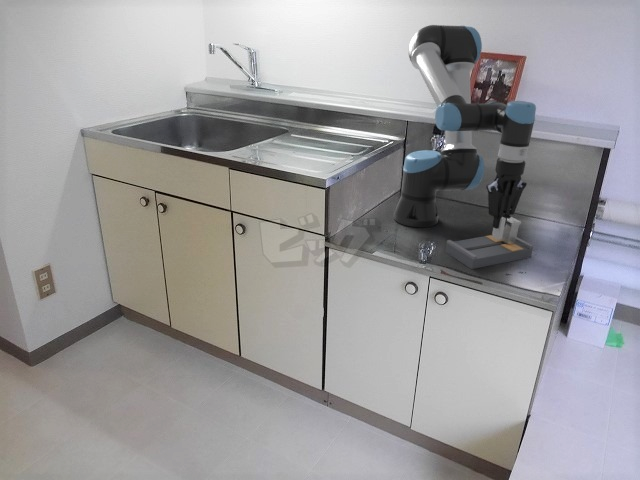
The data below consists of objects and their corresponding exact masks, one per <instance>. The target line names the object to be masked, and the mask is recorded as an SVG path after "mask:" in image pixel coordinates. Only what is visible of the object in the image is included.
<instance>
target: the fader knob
mask: <svg viewBox="0 0 640 480" xmlns="http://www.w3.org/2000/svg"><path fill="white" fill-rule="evenodd" d="M520 225H522V220H519V219H517V218H514V217H513V216H511V217H510V218H509V219H508V218H507V222H506V226H505V227H504V231H503V236H502V239H499V240H501V241H503V242H505V243H507V244H511V243H516V238H517V237H518V233H519V228H520Z"/></svg>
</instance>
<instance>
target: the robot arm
mask: <svg viewBox="0 0 640 480" xmlns="http://www.w3.org/2000/svg"><path fill="white" fill-rule="evenodd" d="M482 44H483V43H482V38H481V34H480V33H479V31H478V29H476V28H475V27H473V26H465V25H439V24H431V25H430V24H429V25H426V26H424V27H422V28H420V29H419V30H418V31H417V32H416V33H415V34H414V35H413V37H412V38H411V40H410V42H409V45H408V46H409V47H408V57H409V58H408V59H409V61H410V63H411V65H412V67H414V68H415V69H417V70H418V71H419V73H420V75H421V77H422V80H423V81H424V83H425V85H426V87H427V89H428V91H429V93H430V96H431V97H432V99H433V101H434V102H435V105H436V107H437V108H436V111H435V114H434V115H435V116H434V120H435V125H436V127H437V129H439V130H440V131H443V132H444V137H445V143H444V144H445V145H444V147H443V148H442V149H441V150H440V152H439V151H436V150H432V149H431V150H427V149H425V150H424V149H423V150H416V151H413V152H410V153H408V154H407V155H406V157H405V158H404V164H403V167H402V170H403V172H402V182H401V191H400V197H399V200H398V202H397V204H396V208H395V209H394V211H393V219H394V221H396V222H397V223H399V224H401V225H403V226H408V227H412V228H429V227H434V226H436V225H437V224H438V222H439V211H438V207H437V201H436V198H437V192H438V191H440V192H441V191H465V190H473V189H475V188H477V187H478V186H479V185H480V183H481V182H482V180H483V176H484V173H485V161H484V158H483V157H482V156H481V155H480V154H478V153H477V150H478V149H477V147H476V146H474V145H473V144H472V143H473V139H472V138H473V137H472V135H473V134H472V133H473V132H474V131H475V132H483V131H484V132H489V131H490V132H491V131H494V132H498V133H500V134H501V135H500V143H499V147H498V153H497V160H496V164H495V170H494V171H495V173H496V175H495V177H494V179H493V182H492V183H491V184H489V183H487V184H486V190H487V197H488V198H487V200H488V201H487V202H488V203H487V204H488V215H490V216H492V217H493V221H492V233H491V235H492V237H494V238H496V239H498V240H499V239H502V236H503V231H504V227H505V226H506V222H507V218H508V219H509V218H510V217H512V216H513V215H514V214H515V211H516V209H517V207H518V205H519V202H520V199H521V196H522V193H523V191H524V189H525V188H527V182H524V181H523V180H522V176H523V175H524V172H525V168H526V160H527V157H528V153H529V147H530V143H531V139H532V133H533V128H534V124H535V121H536V112H537V111H536V110H537V107H536V104H535V103H533V102H530V101H524V100H511V101H509V102H507V104H505V103H503V102H500V101H489V102H487V103H472V99H471V97H472V96H471V95H472V94H471V72H472V70H473V69H474V68H475V65H476V63H477V62H478V61H479V59H480V58H481V55H482V54H481V52H482V50H483V48H482V47H483V45H482ZM472 131H473V132H472ZM511 215H512V216H511Z"/></svg>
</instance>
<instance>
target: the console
mask: <svg viewBox="0 0 640 480" xmlns="http://www.w3.org/2000/svg"><path fill="white" fill-rule="evenodd" d="M533 248H534V245H533V244H531V243H529V242H528V241H525V240H524V239H521V238H519V237H518V236H517V238H516V243H511V244H507V243H505V242H503V241H501V240H498V239H496V238H494V237H492V234H489V235H484V236H479V237H474V238H472V237H471V238H467V239H462V240H455V241H453V240H451V239H448V240H446V246H445V253H447V254H448V255H449V256H451V258H453V259H455V260H457V261H458V262H460V263H462V264H463V265H465V266H466V267H468V268H469V269H471V270H476V269H479V268H484V267H489V266H495V265H499V264H504V263H505V264H506V263H508V262H514V261H519V260H523V259H529V258H532V253H533Z"/></svg>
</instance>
